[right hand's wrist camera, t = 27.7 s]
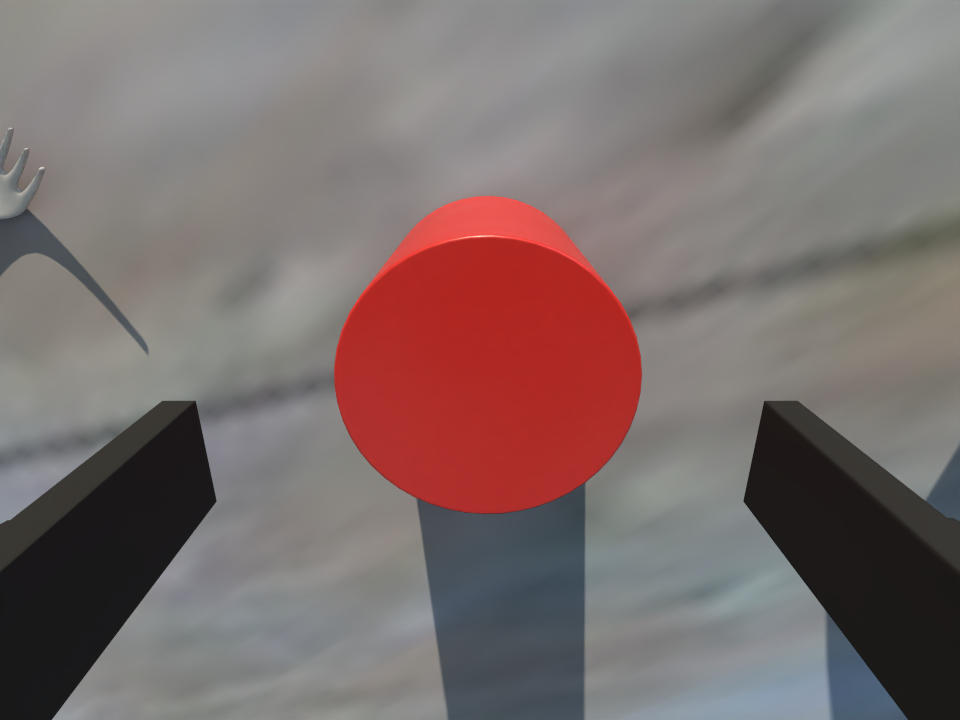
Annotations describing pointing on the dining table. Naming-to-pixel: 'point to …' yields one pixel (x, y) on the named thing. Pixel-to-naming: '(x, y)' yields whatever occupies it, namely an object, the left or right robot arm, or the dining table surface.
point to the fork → (15, 182)
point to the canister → (487, 362)
